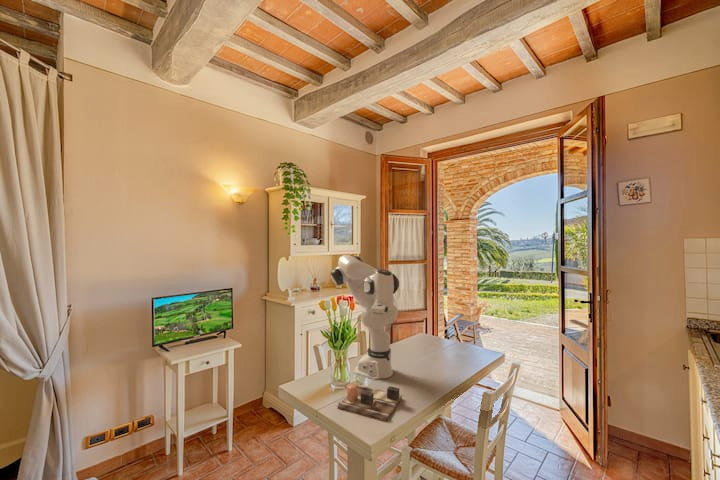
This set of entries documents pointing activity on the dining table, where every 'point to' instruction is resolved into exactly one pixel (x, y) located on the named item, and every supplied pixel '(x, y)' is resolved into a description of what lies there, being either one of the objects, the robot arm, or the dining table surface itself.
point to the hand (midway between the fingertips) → (384, 334)
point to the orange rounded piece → (352, 393)
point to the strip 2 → (387, 395)
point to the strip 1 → (362, 400)
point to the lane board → (377, 411)
